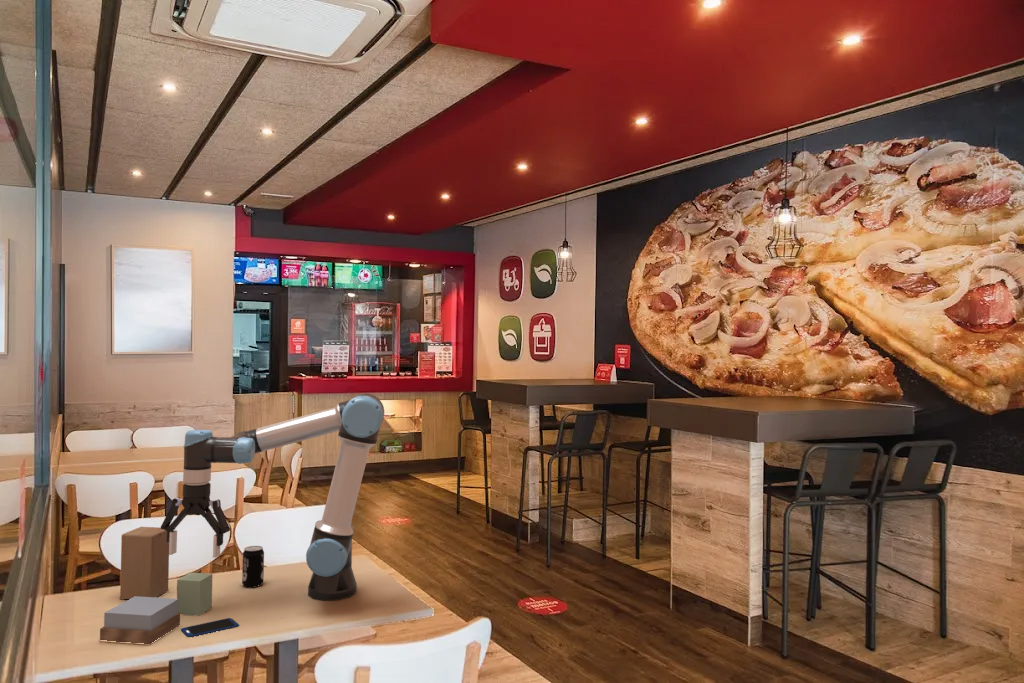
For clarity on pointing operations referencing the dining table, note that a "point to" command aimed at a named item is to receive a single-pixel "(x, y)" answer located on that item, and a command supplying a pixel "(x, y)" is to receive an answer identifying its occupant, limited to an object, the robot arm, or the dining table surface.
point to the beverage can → (253, 566)
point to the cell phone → (209, 627)
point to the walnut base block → (140, 632)
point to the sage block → (194, 593)
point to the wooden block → (144, 563)
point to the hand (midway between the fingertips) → (194, 555)
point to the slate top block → (141, 613)
